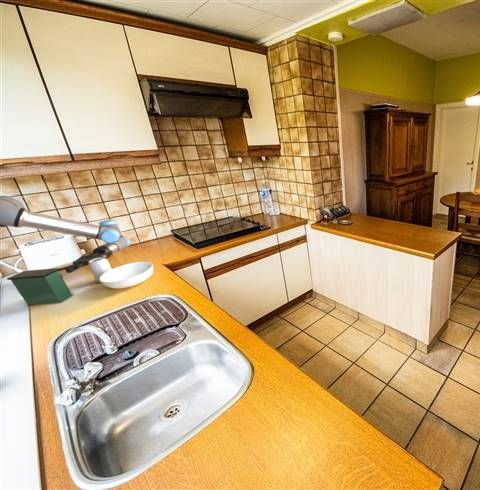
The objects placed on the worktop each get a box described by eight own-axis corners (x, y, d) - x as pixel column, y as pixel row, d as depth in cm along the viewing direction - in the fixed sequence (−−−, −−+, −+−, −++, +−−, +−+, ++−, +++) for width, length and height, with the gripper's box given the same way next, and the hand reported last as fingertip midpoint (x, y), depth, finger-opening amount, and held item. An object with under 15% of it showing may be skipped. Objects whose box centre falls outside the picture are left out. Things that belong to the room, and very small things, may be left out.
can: (114, 274, 146) (104, 255, 141) (117, 278, 142) (107, 258, 137) (96, 280, 141) (85, 260, 136) (98, 284, 136) (87, 264, 132)
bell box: (25, 306, 121) (6, 278, 115) (41, 297, 128) (24, 270, 122) (60, 303, 122) (43, 275, 116) (74, 294, 129) (59, 267, 123)
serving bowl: (104, 299, 123) (97, 286, 121) (107, 282, 138) (101, 270, 136) (158, 282, 135) (153, 271, 132) (155, 268, 150) (151, 257, 147)
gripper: (119, 256, 157) (84, 276, 135) (96, 257, 156) (57, 278, 134) (114, 244, 154) (77, 263, 132) (90, 246, 153) (49, 265, 131)
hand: (67, 270), depth 133 cm, fingers closed
